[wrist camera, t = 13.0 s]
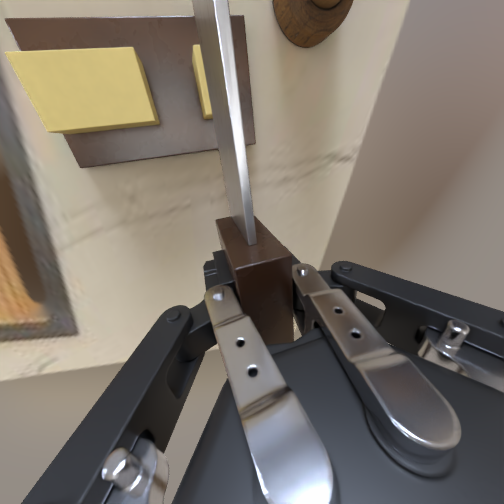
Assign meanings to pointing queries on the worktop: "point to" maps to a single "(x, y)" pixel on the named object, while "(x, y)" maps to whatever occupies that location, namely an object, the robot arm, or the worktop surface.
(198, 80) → the butter pat
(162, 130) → the butter board
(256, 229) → the knife
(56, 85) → the butter stick
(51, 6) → the worktop surface
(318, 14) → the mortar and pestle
